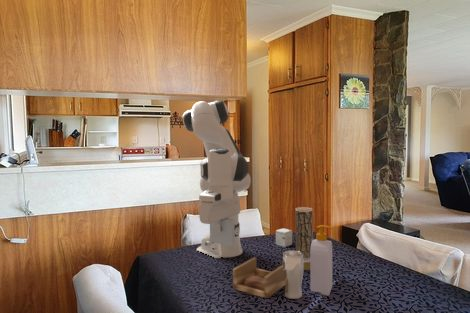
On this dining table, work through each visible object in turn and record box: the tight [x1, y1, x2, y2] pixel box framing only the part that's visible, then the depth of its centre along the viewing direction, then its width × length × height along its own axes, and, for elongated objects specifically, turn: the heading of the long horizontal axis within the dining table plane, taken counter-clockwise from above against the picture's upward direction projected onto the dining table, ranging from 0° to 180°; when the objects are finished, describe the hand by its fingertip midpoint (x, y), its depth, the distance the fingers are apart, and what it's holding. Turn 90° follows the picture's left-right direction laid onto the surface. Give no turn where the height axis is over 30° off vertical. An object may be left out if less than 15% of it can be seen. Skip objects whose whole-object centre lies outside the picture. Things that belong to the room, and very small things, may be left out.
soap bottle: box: [309, 224, 333, 296], centre depth 121 cm, size 9×7×23 cm
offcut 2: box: [244, 282, 264, 291], centre depth 122 cm, size 9×4×2 cm, turn 55°
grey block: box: [209, 219, 235, 246], centre depth 126 cm, size 10×2×9 cm, turn 55°
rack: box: [232, 257, 285, 299], centre depth 123 cm, size 14×14×8 cm
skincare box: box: [275, 228, 293, 248], centre depth 173 cm, size 6×6×7 cm
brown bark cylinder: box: [295, 206, 314, 271], centre depth 140 cm, size 7×7×25 cm
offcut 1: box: [245, 275, 264, 288], centre depth 121 cm, size 8×4×2 cm, turn 59°
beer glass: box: [282, 250, 305, 300], centre depth 116 cm, size 7×7×15 cm
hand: (221, 230), depth 126 cm, fingers closed on grey block, 2 cm apart
